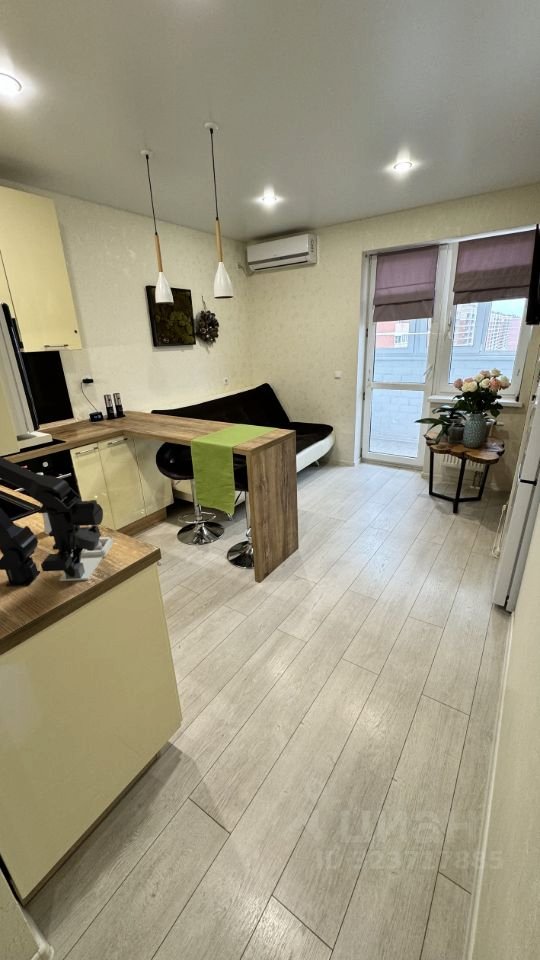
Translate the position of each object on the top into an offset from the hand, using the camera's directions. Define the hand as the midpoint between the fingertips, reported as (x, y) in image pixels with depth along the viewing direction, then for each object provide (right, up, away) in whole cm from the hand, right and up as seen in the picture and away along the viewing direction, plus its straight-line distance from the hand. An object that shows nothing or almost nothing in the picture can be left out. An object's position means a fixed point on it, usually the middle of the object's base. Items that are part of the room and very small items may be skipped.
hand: (75, 573), depth 108 cm
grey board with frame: (0, +2, +8) cm, 9 cm away
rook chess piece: (-1, +4, +14) cm, 15 cm away
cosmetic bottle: (-22, +8, +27) cm, 36 cm away
